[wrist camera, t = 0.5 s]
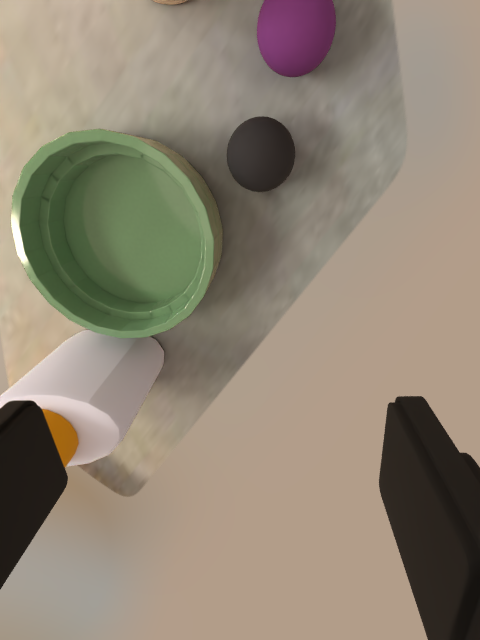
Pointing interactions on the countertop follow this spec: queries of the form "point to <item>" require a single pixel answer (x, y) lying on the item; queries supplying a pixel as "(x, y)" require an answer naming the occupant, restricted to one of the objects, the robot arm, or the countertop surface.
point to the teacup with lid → (170, 1)
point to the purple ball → (295, 34)
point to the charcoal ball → (260, 154)
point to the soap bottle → (90, 391)
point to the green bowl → (116, 232)
